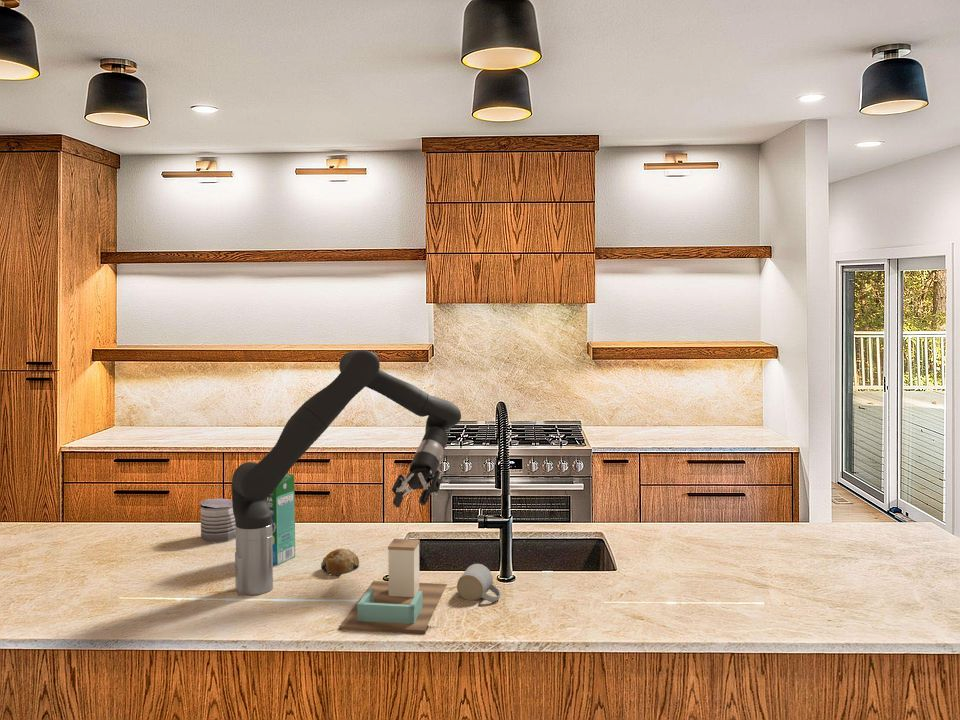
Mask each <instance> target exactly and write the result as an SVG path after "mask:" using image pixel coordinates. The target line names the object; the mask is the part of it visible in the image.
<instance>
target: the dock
mask: <svg viewBox="0 0 960 720" xmlns="http://www.w3.org/2000/svg"><path fill="white" fill-rule="evenodd" d="M367 589H368V588H367ZM364 593H365V592H364ZM361 597H362V596H361ZM358 601H359V600H358ZM422 607H423V591H417V593H416V595H415V597H414V598H413V600H412V602H411V604H410V605H406V604H385V603H374V589H368V591H367V592H366V593H365V595H364V596H363V597H362V599H361V600H360V601H359V603H358V604H357V611H358V621H369V622H388V623H407V624H414V623H415V621H416V619H417V617H418V615H419V613H420V611H421V609H422Z"/></svg>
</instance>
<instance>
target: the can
mask: <svg viewBox="0 0 960 720" xmlns="http://www.w3.org/2000/svg"><path fill="white" fill-rule="evenodd" d="M199 504H201V505H200V506H199V507H200V540H201V541H202V542H204V543H206V544H209V543H210V544H220V543H221V544H222V543H227V542H231V541H234V540H236V527H235V517H234V514H233V505H232V499H226V498H207V499H205V500H201V501H199Z"/></svg>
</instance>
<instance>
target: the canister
mask: <svg viewBox="0 0 960 720" xmlns="http://www.w3.org/2000/svg"><path fill="white" fill-rule="evenodd" d="M420 542H421V541H420V539H413V538H412V539H411V538H410V539H409V538H408V539H407V538H393V540H392V541H391V542H390V543H389V544H388V546H387V550H388V555H387V556H388V581H389V596H400V597H415V595H416V593H417V591H418V589H419V583H420Z"/></svg>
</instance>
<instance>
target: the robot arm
mask: <svg viewBox="0 0 960 720" xmlns="http://www.w3.org/2000/svg"><path fill="white" fill-rule="evenodd" d="M380 364H381V363H380V359H379V357H378V356H377V354H376V353H375V352H373V351H370V350H366V349H359V350H358V349H357V350H356V349H355V350H351V351H349V352H346V353H344V355H343V356H341V358H340V361H339V365H338V366H339V367H338V368H339V374H338V375H337V376H336V378H335V379H334V380H333V381H331V382H330V383H329V384H328V385H326V386H325V387H324V388H322V389H321V390H319V391H318V392H317V393H315V394H313V395H312V396H311V397H310V398H308V399H307V400H306V401H305V402H304V403H302V405H301V406H299V407H298V409H296V411H295V412H294V413H293V414H292V415H291V416H290V418H289V419H288V420H287V422H285V423H286V424H285V425H284V427H283V429H282V431H281V433H280V435H279V437H278V439H277V442H276V443H275V444H274V446H273V447H272V449H271V450H270V451H269V452H267V454H266V455H265V456H264V457H263V458H261V459H260V461H258V462H254V461H246V462H243V463H242V464H240V465H238V467H237V468H236V469H235V470H234V472H233V474H232V478H231V500H232V505H233V514H234V517H235V527H236V539H235V552H234V565H235V567H234V568H235V571H234V573H235V575H234V576H235V580H234V581H235V590H236V594H237V595H239V596H240V595H246V596H247V595H249V596H250V595H252V596H253V595H254V596H255V595H261V594H265V593H268V592H269V591H271V590H273V588H274V573H273V572H274V569H273V567H274V565H273V550H272V513H271V511H270V509H269V506H268V502H267V497H269V496H270V495H271V494H272V493H273V491H274V490H275V489H276V487H277V486H278V485H279V483H280V482H281V481H282V479H283V478H284V476H285V475H286V474H288V472H289V471H290V470H291V469H292V467H293V466H294V465H295V464H296V463H297V462H298V460H300V459H301V457H303V455H304V454H305V453H306V452H307V451H308V449H309V448H310V447H311V446H313V444H314V443H315V442H316V441H317V440H318V439H319V438H320V437H321V436H322V434H323V433H324V432H325V431H326V430H328V428H329V426H330V425H331V424H332V423H333V422H334V421H335V419H336V418H337V417H338V416H339V415H340V414H341V413H342V411H344V409H345V408H346V406H347V405H348V404H349V403H350V402H351V401H352V400H353V398H355V397H356V396H357V395H358V394H359V393H360V392H361V391H362V390H363V389H364V388H367V389H370V390H371V391H374V392H376V393H378V394H381V395H382V396H384V397H386V398H387V399H389V400H391V401H392V402H394V403H396V404H397V405H399V406H401V407H402V408H403V409H406V410H408V411H409V412H411V413H412V414H414V415H415V416H418V417H422V418H423V417H427V416H428V417H427V418H426V422H425V433H424V435H423V437H422V440H421V442H420V444H419V446H418V447H417V449H416V452H415V454H414V456H413V458H412V461H411V463H410V466H409V473H408V474H407V475H403V474H402V473H400V474H399V475H397V478H396V480H395V482H394V484H393V486H392V488H391V492H392V493H393V495H394V498H393V500H392V503H393V505H394V507H395V508H400V506H401V504H402V502H403V499H404V496H406V495H407V494H410V493H411V492H413V491H415V490H422V491H421V494H420V498H419V499H418V501H419V504H420V505H421V506H426V504H427V503H428V502H429V498H430V496H431V495H432V494H433V493H435V494H437V493H438V492H439V490H440V487H441V484H442V481H443V478H444V476H443V474H442V473H441V472H440V470H439V466H440V464H441V461H442V458H443V455H444V452H445V449H446V446H447V444H448V441H449V435H448V433H447V430H449V429H451V428H452V427H454V426H456V425H458V424H459V423H460V421H461V419H462V412H461V410H460V409H459V407H458V406H457V404H455V403H453V402H452V401H450V400H446V399H443V398H440V397H436V396H433V395H430V394H428V393H427V392H425V391H424V390H422V389H420V388H419V387H417V386H416V385H414V384H412V383H410V382H407V381H404V380H402V379H400V378H398V377H395V376H393V375H391V374H389V373H387V372H385V371H383V370H382V369H381V367H380V366H381V365H380ZM407 485H408V486H409V487H408V486H407Z"/></svg>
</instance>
